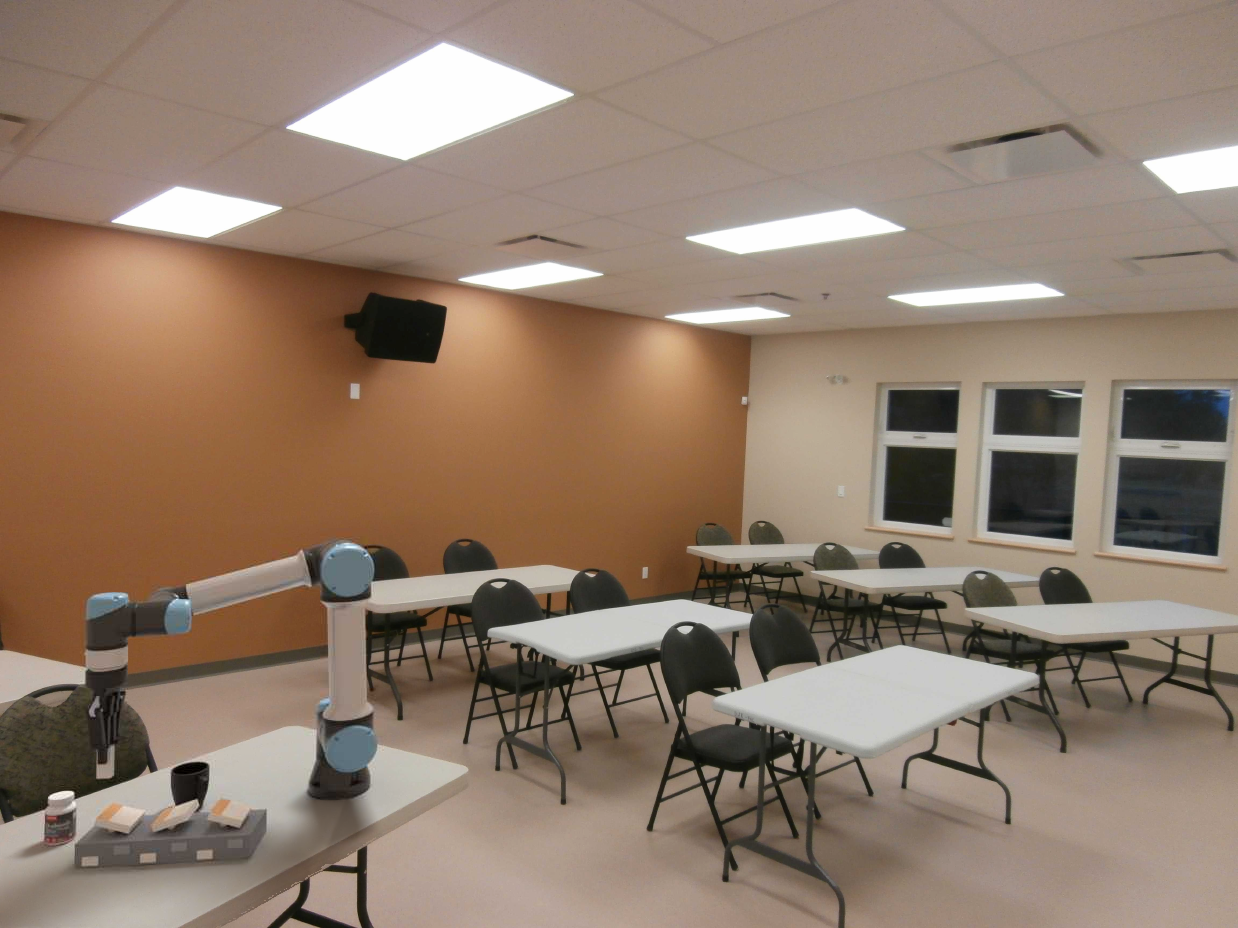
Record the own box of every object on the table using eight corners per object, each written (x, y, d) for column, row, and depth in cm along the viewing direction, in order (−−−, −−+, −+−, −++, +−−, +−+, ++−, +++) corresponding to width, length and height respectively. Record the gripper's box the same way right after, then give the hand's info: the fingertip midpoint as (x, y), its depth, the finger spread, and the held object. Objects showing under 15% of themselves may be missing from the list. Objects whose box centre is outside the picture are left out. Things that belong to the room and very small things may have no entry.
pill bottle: (41, 848, 168) (42, 802, 168) (46, 836, 173) (47, 792, 173) (74, 842, 171) (74, 797, 171) (78, 831, 176) (78, 787, 176)
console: (266, 830, 178) (266, 806, 178) (250, 858, 166) (250, 832, 166) (102, 839, 172) (103, 814, 172) (73, 869, 160) (74, 842, 160)
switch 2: (200, 808, 173) (196, 798, 173) (188, 823, 166) (184, 812, 166) (168, 820, 172) (164, 809, 172) (154, 835, 165) (150, 824, 165)
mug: (185, 823, 181) (186, 782, 180) (164, 807, 188) (164, 768, 188) (222, 811, 187) (222, 771, 187) (200, 796, 195) (200, 758, 194)
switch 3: (248, 816, 175) (252, 805, 175) (238, 831, 168) (242, 819, 168) (216, 807, 174) (220, 797, 174) (205, 822, 167) (209, 811, 167)
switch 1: (141, 821, 171) (145, 810, 171) (127, 837, 164) (131, 825, 165) (108, 813, 170) (112, 802, 170) (92, 828, 163) (96, 817, 163)
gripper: (102, 658, 172) (101, 765, 173) (70, 675, 159) (69, 790, 160) (139, 658, 174) (138, 763, 174) (111, 675, 161) (109, 789, 161)
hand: (105, 776), depth 167 cm, fingers closed
